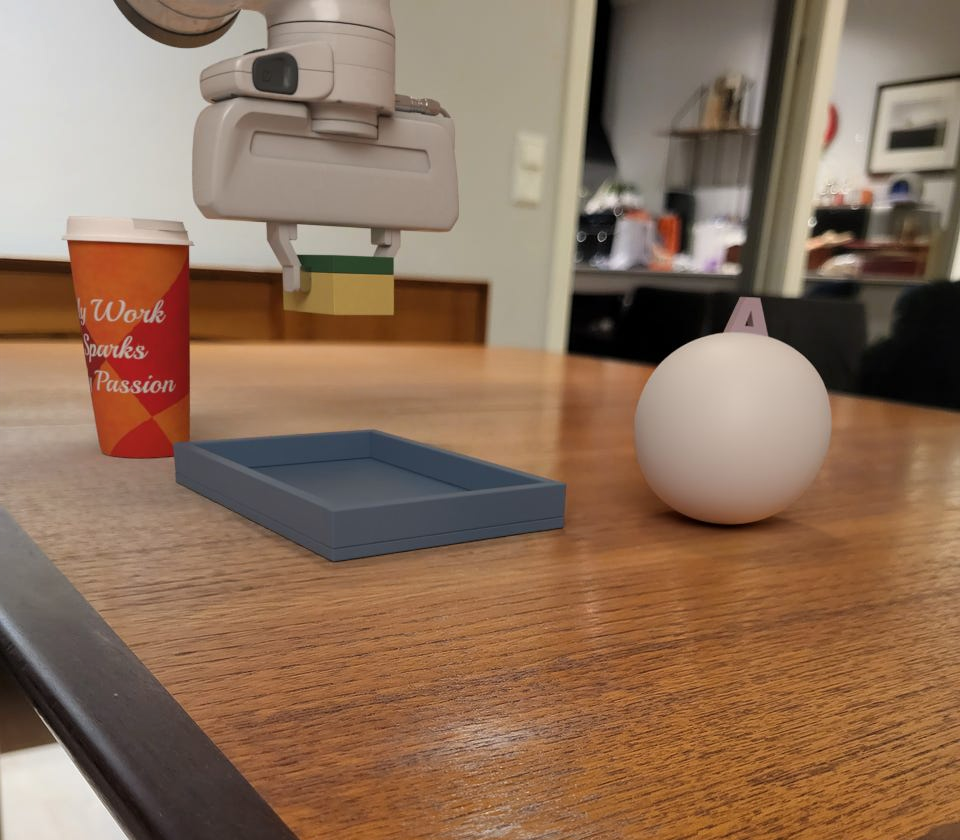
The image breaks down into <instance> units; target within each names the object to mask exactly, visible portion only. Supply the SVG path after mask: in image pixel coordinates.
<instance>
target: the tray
mask: <svg viewBox="0 0 960 840" xmlns="http://www.w3.org/2000/svg"><path fill="white" fill-rule="evenodd" d="M173 447H174V456H173V459H174V471H175V472H174V475H175V476H174V477H175V482H176V483H178V484H179V485H182V486H184V487H186V488H187V489H190V490H192V491H193V492H195V493H197V494H199V495H201V496H204V497H205V498H206V499H209V500H211V501H213V502H214V503H217V504H219V505H221V506H223V507H225V508H227V509H228V510H231V511H233V512H234V513H237V514H239V515H240V516H243V517H244V518H246V519H249V520H250V521H253V522H254V523H256V524H258V525H260V526H262V527H264V528H266V529H268V530H270V531H272V532H274V533H275V534H278V535H280V536H282V537H284V538H286V539H287V540H290V541H292V542H293V543H296V544H297V545H300V546H301V547H304V548H305V549H307V550H309V551H311V552H314V553H315V554H317V555H319V556H321V557H323V558H325V559H327V560H329V561H331V562H340V561H347V560H353V559H361V558H368V557H373V556H374V557H375V556H381V555H387V554H393V553H400V552H408V551H413V550H414V551H415V550H422V549H428V548H435V547H440V546H447V545H448V546H449V545H453V544H462V543H469V542H474V541H482V540H487V539H494V538H500V537H501V538H502V537H507V536H516V535H522V534H528V533H535V532H541V531H550V530H557V529H562V528H564V526H565V525H564V524H565V511H566V510H565V509H566V495H567V483H565V482H561V481H559V480H555V479H551V478H548V477H544V476H540V475H537V474H533V473H529V472H527V471H523V470H519V469H516V468H512V467H510V466H509V467H508V466H505V465H502V464H499V463H495V462H490V461H487V460H484V459H481V458H477V457H473V456H470V455H466V454H464V453H460V452H455V451H453V450H449V449H447V448H446V449H445V448H442V447H439V446H434V445H431V444H428V443H424V442H421V441H417V440H413V439H410V438H407V437H404V436H399V435H396V434H392V433H389V432H385V431H382V430H379V429H375V428H371V429H369V428H368V429H356V430H341V431H340V430H339V431H326V432H325V431H324V432H311V433H293V434H280V435H264V436H250V437H248V436H247V437H233V438H220V439H205V440H190V441H188V442H175V443H173Z"/></svg>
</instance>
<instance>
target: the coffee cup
mask: <svg viewBox="0 0 960 840" xmlns="http://www.w3.org/2000/svg"><path fill="white" fill-rule="evenodd" d="M188 232H189V231H188V230H186V227H185V225H184V221H178V220H168V219H166V220H165V219H154V218H153V219H151V218H135V217H115V216H113V217H111V216H109V217H108V216H86V215H84V216H82V215H81V216H80V215H79V216H78V215H71V216H70V215H69V216H68V217H67V219H66V234H64V235H62V236H61V241H66V243H67V248H68V255H69V263H70V268H71V275H72V281H73V282H72V283H73V287H74V294H75V301H76V307H77V314H78V320H79V327H80V334H81V341H82V346H83V353H84V360H85V366H86V372H87V379H88V385H89V391H90V398H91V403H92V410H93V414H94V422H95V423H94V424H95V428H96V434H97V439H98V444H99V449H100V452H101V453H102V454H104V455H107V456H112V457H116V458H117V457H118V458H132V459H148V458H150V459H151V458H165V457H174V447H173V443H175V442H188V441H191V440H190V438H191V437H190V435H191V323H190V322H191V316H190V315H191V312H190V311H191V310H190V309H191V307H190V293H191V292H190V247H194V246H195V244H194V242H193V241H192V240H190V238H189V233H188Z"/></svg>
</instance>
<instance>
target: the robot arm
mask: <svg viewBox="0 0 960 840" xmlns="http://www.w3.org/2000/svg"><path fill="white" fill-rule="evenodd" d="M112 1H113V3H114V4H115V6H116V7H117V9H118V10H119V12H120V13H121V14H122V15H123V17H124V18H125V19H126V20H127V21H128V22H129V23H130V24H131V25H132V26H133V27H134V28H135V29H136V30H138V31H139V32H140V33H142V34H143V35H145V36H146V37H148V38H150V39H151V40H153V41H155V42H156V43H157V42H158V43H160V44H162V45H165V46H167V47H171V48H177V49H197V48H201V47H206V46H208V45H211V44H213V43H214V42H216V41H218V40H219V39H221V38H222V37H223V36H225V35H226V34H227V33H228V31H229V30H230V29H231V28H232V27H233V26H234V24H235V23H236V21H237V19H238V17H239V15H240V13H241V11H242V10H244V11H252V12H257V13H259V14H260V15H261V16H262V17H263V18H264V20H265V24H266V48H264V47H263V48H256V49H252V50H250V51H247V52H245V53H243V54H242V55H238V56H234V57H233V56H232V57H230V58H226V59H222V60H220V61H218V62H215V63H213V64H211V65H209V66H207V67H206V68H203V69H202V70H201V72H200V74H199V90H200V94H201V97H202V99H203V100H204V101H205V102H206V103H208V104H209V105H207V106H206V107H205V108H202V110H201V111H200V112H199V114H198V116H197V118H196V120H195V124H194V128H193V136H192V150H191V151H192V152H191V156H192V157H191V187H192V198H193V202H194V204H195V206H196V207H197V209H198V211H199V212H200V213H201V215H203V218H205V219H206V220H207V219H208V220H217V221H218V220H219V221H235V222H251V223H265V226H266V229H265V230H266V241H267V243H268V245H269V247H270V248H271V250H272V253H273V254H274V256H275V257H276V259H277V261H278V262H279V264H280V266H281V267H282V266H283V270H282V272H283V274H282V287H283V286H284V290H285V291H286V292H310V291H311V288H312V282H311V281H310V279H311V273H312V272H311V267H302V265H301V263H300V261H299V259H298V257H297V255H298V254H297V253H296V250H295V249H294V246H293V244H292V243H291V241H297V240H298V225H303V226H304V225H305V226H320V227H321V226H322V227H335V228H337V227H338V228H354V229H355V228H356V229H368V230H369V229H370V244H371V245H372V246H376V248H375V250H374V253H373V255H372V257H393V258H394V259H395V257H396V256H397V254H398V252H399V250H400V248H401V241H402V240H401V237H402V232H403V231H404V232H421V233H448V232H451V230H452V229H453V228H454V226H456V223H457V221H458V220H459V218H460V217H459V216H460V199H459V198H460V196H459V182H458V179H459V178H458V171H457V170H458V169H457V161H456V155H455V150H456V149H455V148H456V126H455V125H456V124H455V122H454V119H453V118H452V117H451V116H450V114H449V113H448V112H447V111H446V109H445V108H443V107H442V106H441V104H440V102H439V101H437V100H435V99H433V98H417V97H412V96H410V95H406V94H399V93H396V49H397V48H396V43H397V42H396V29H395V24H394V21H393V17H392V12H391V0H112ZM439 114H440V115H441V116H439Z"/></svg>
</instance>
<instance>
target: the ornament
mask: <svg viewBox="0 0 960 840" xmlns="http://www.w3.org/2000/svg"><path fill="white" fill-rule="evenodd" d="M761 300H762V299H761V297H749V296H740V297H739V299H738V301H737V303H736V305H735V306H734V309H733V311H732V313H731V316H730V318H729V320H728V322H727V323H726V326H725V328H724V330H723V332H719V333H714V334H709V335H706V336H702V337H700V338H696V339H693V340H691V341H690V342H687V343H686V344H684V345H682V346H680V347H679V348H677V349H675V350H674V351H673V352H671V353H670V354H669V355H668V356H667V357H665V358H664V359H663V360H662V361H661V362H660V363H659V364H658V365H657V366H656V368H655V369H654V370H653V372H652V373H651V375H650V376H649V378H648V379H647V382H646V383H645V385H644V387H643V388H642V391H641V393H640V396H639V399H638V402H637V406H636V408H635V409H636V410H635V413H634V421H633V445H634V452H635V456H636V461H637V465H638V467H639V469H640V472H641V474H642V476H643V478H644V479H645V481H646V483H647V485H648V487H649V488H650V489H651V490H652V492H653V493H654V494H655V495H656V496H657V498H659V499H660V500H661V501H662V502H663V503H665V505H666V506H668V507H670V508H671V509H672V510H674V511H676V512H678V513H680V514H682V515H684V516H685V517H688V518H691V519H694V520H697V521H701V522H705V523H710V524H717V525H741V524H743V525H744V524H748V523H753V522H754V523H755V522H758V521H761V520H765V519H767V518H769V517H772V516H774V515H777V514H778V513H780V512H781V511H784V510H786V509H787V508H788V507H790V506H791V505H793V504H794V503H795V502H796V501H798V499H800V498H801V497H802V496H803V495H804V494H805V493H806V491H807V490H808V489H809V488H810V486H811V485H812V484H813V483H814V481H815V480H816V478H817V476H818V474H819V473H820V472H821V469H822V467H823V465H824V463H825V460H826V457H827V454H828V451H829V448H830V443H831V437H832V431H833V429H832V428H833V419H832V417H833V415H832V407H831V403H830V397H829V394H828V391H827V388H826V386H825V383H824V380H823V379H822V377H821V375H820V374H819V372H818V371H817V369H816V368H815V366H814V365H813V364H812V363H811V362H810V361H809V360H808V359H807V358H806V357H805V356H804V355H803V354H802V353H800V352H799V351H798V350H796V349H795V347H792V346H791V345H789V344H787V343H785V342H783V341H781V340H779V339H777V338H774V337H771V336H769V333H768V329H767V324H766V319H765V315H764V310H763V305H762V301H761ZM746 324H747V325H746Z"/></svg>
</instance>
